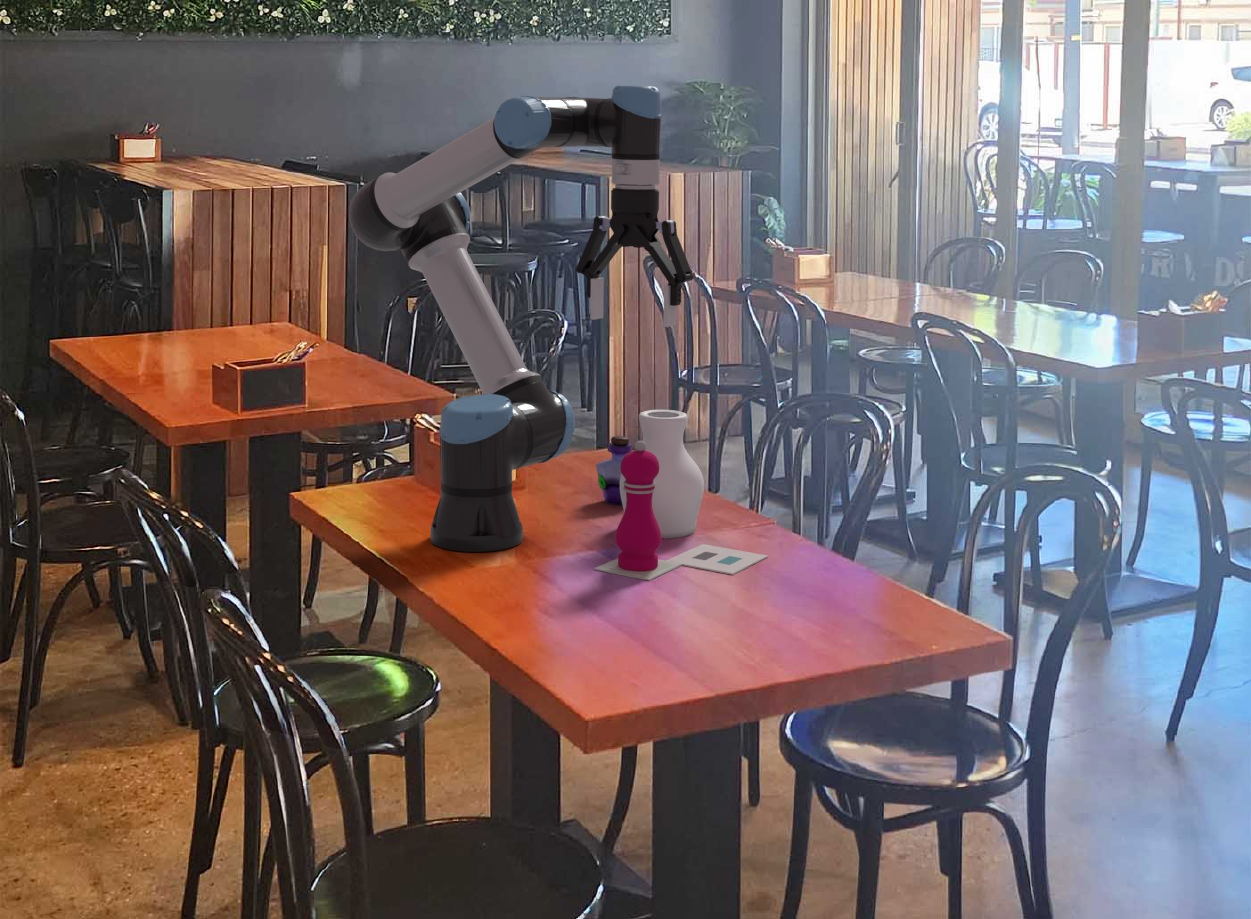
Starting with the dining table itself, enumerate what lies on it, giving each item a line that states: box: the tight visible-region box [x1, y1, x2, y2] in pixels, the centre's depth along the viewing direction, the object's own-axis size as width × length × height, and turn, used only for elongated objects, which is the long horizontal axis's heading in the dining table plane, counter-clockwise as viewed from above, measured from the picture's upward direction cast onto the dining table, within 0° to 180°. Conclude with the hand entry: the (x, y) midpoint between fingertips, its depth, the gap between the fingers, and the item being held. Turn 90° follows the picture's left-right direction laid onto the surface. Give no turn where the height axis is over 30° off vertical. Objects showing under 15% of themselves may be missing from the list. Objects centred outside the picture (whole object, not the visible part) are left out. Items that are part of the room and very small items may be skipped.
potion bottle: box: [595, 435, 633, 506], centre depth 291 cm, size 9×9×12 cm
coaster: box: [593, 557, 683, 582], centre depth 252 cm, size 10×10×1 cm
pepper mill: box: [614, 440, 663, 571], centre depth 249 cm, size 7×7×20 cm
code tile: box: [665, 543, 769, 576], centre depth 257 cm, size 12×12×1 cm
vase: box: [620, 409, 705, 539], centre depth 272 cm, size 14×14×20 cm
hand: (632, 322), depth 256 cm, fingers open, 13 cm apart
